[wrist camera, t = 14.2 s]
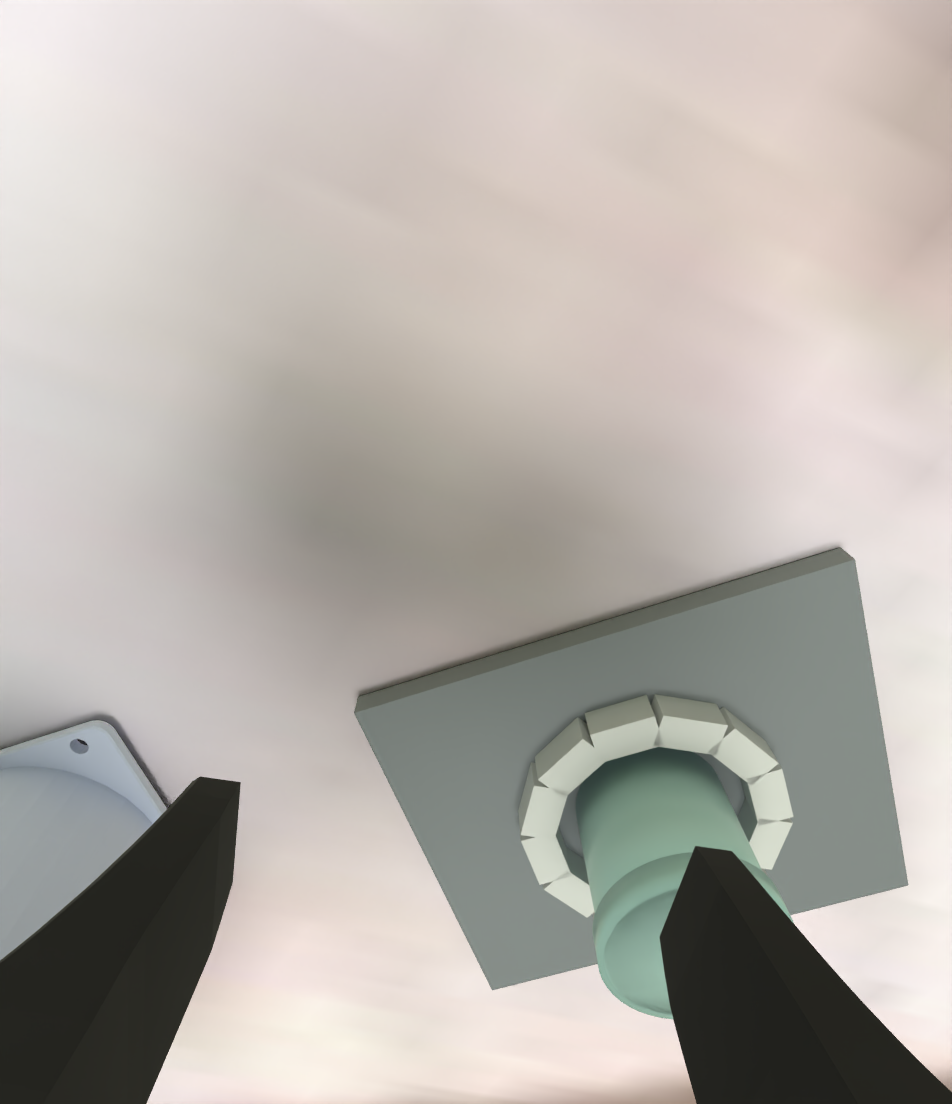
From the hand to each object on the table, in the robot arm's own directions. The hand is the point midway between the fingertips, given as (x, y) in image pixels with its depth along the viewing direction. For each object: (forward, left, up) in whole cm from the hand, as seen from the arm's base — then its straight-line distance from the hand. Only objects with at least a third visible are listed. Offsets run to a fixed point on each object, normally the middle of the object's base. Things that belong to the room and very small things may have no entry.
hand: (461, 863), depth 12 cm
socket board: (+3, -8, -9) cm, 13 cm away
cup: (+3, -8, -9) cm, 12 cm away
